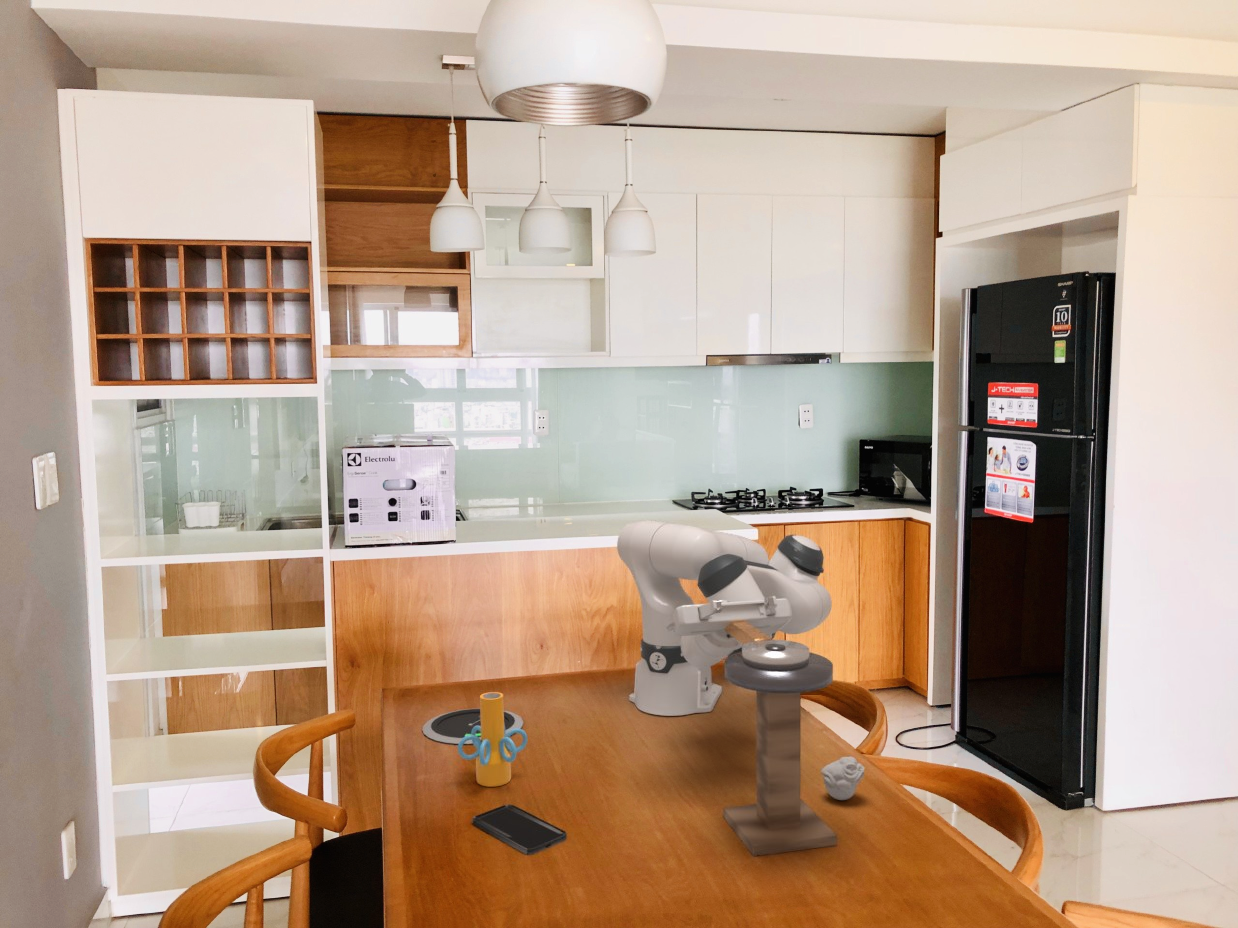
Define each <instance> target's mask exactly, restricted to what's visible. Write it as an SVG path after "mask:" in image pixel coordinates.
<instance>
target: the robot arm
mask: <svg viewBox="0 0 1238 928" xmlns="http://www.w3.org/2000/svg"><path fill="white" fill-rule="evenodd" d="M616 546H617V547H616V548H617V553H618V556H619V558H620V559H621V560H622V562H623V564H624V565H626V567H627V568H628V570H629V571H630V574H631V575H632V577H633V580H634V582H635V585H636V587H637V592H638V595H639V598H640V599H639V600H640V604H641V616H642V617H641V618H642V639H640V649H639V650H640V657H641V659H640V660H638V662H637V663H636V664H635V673H634V674H635V675H634V692H632V693H630V694H629V695H628V697H629V698H628V700H629V701H630V702H632V703H634V704H635V706H636V708H637V709H638V710H640V711H641V712H644V713H646V714H652V715H656V716H666V717H667V716H669V717H670V716H671V717H673V716H685V715H691V714H695V713H700V714H701V713H709V712H712V711H713V710H714V707H715V705H716V703H717V702H718V699H720V698H719V697H720V696H721V694H722V693H723V687H722V686H721V685H718V684H716V683H713V682H712V668H711V667H712V666H714V665H716V664H718V663H719V662H721V661H722V660H724V659H726V658H727V657H728V656H730V655H732V654H735V653H737V652H741V651H742V646H743V645H744V644H742V643H741V642H739V641H738V640H737V639H735V638H734V637H733V636H731V635H730V634H729V633H727V632H726V631H725V628H726V627H727V626H728V625H729V624H730V623H731V622H739V621H746V622H748V623H749V624H751V625H752V626H754V627H755V628H757V629H758V630H760V631H761V632H763V633H764V634H766V635H767V636H769V637H770V638H771V640H774V639H775V636H776V633H777V632H781V633H783V634H786V635H787V634H788V635H799V634H803V633H807V632H809V631H811V630H814V629H816V628H817V627H819V626H821V625H822V623H824V622H825V621H826V619H827V618H829V617H828V616H829V615H830V613H831V610H832V607H833V600H832V597H831V594H830V592H829V590H828V589H827V588H826V587H825V586H823V584H821V583H819V582H818V578H819V576H820V575H821V574H824V571H825V569H824V567H823V566H824V559H825V557H824V556H825V555H824V553H823V550H822V548H821V547H820V546H819V545H818V544H817V543H816V542H815V541H813V540H812V539H811V538H808V537H806V536H803V535H797V534H788V535H785V537H783V538H782V540H781V541H780V542H779V543H778V544H777V549H776V551H775V552H774V553H773V555H772V557H771V558H770V560H769V555H768V553H767V551H766V549H765V548H764V547H763V546H762V545H761V544H760V543H758V542H756V541H754V540H752V539H749V538H747V537H745V536H741V535H738V534H732V533H728V532H727V533H726V532H722V531H718V530H717V531H716V530H711V529H708V528H703V527H700V526H694V525H688V524H681V523H675V522H674V523H672V522H664V521H657V520H652V519H651V520H650V519H647V520H638V521H633V522H632V521H631V522H629V523H627V524H626V525H624V527H623V528H622V529H621V531H620V532H619V535H618V538H617V542H616ZM680 579H682V580H689V581H697V587H698V589H699V591H701V593H702V596H704V598H706V601H707V602H708V603H698V604H695V602H694V601H693V599H692V597H691V596H690V595H689V594H688V593H687V592H686V591H685V590H684V587H683V586H682V583H681V581H680Z"/></svg>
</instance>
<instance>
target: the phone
mask: <svg viewBox="0 0 1238 928" xmlns="http://www.w3.org/2000/svg"><path fill="white" fill-rule="evenodd" d="M471 823H472V825H473V827H475V828H478V829H480V830H481V831H483V832H485V833H487V834H489V835H490V836H492V837H494V838H495V839H497V840H499V841H500V842H503V843H504V844H506V845H508V846H510V847H511V848H513V849H515V850H517V851H518V852H519V853H520V852H521V853H523V855H527V856H531V855H535V854H538V853H540V852H543V851H545V850H547V849H549V848H551V847H554V846H556V845H558V844H561V843H563V842H565V841H566V840H567V831H565V830H563V829H562V828H559V827H558V826H555V825H553V824H551V823H549V822H547V821H545V820H543V819H542V818H539V817H537V816H536V815H534V814H531V813H530V812H528V811H526V810H524V809H523V808H522V809H521V808H520V807H518V806H516V805H514V804H511V803H509V804H503V805H501V806H498V807H495V808H493V809H491V810H487V811H485V812H482V813H480V814H479V813H478V815H474V816H473V817H472V822H471Z"/></svg>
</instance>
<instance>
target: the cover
mask: <svg viewBox="0 0 1238 928" xmlns="http://www.w3.org/2000/svg"><path fill="white" fill-rule="evenodd" d="M725 631H726V632H727V633H729V634H730V635H731V636H733V637H734V638H735V639H737V640H738V641H739V642H741V643H742V644H744V645H743V646H742V662H743V663H744V664H745V665H747V666H749V667H751V668H755V669H759V670H766V671H793V670H798V669H802V668H805V667H807V666H808V665H809V652H810V648H809V647H808V646H807V645H806V644H803V643H801V642H797V641H791V640H785V639H772V640H771V638H770V637H769V636H767V635H766V634H764V633H763V632H761V631H760V630H758V629H757V628H755V627H754V626H752V625H751V624H749V623H748V622H746V621H739V622H731V623H730V624H729V625H728V626H727V627H726V628H725Z"/></svg>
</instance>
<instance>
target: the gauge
mask: <svg viewBox="0 0 1238 928" xmlns="http://www.w3.org/2000/svg"><path fill="white" fill-rule="evenodd" d="M504 725H505V729H506V734H507V732H508V731H510V730H512V729H515V728H519V729H522V730H523V727H524V721H523V717H521V716H520V715H518V714H516V713H514V712H512V711H509V710H505V709H504ZM475 726H481V718H480V707H479V708H478V707H477V708H467V709H465V708H464V709H458V710H454V711H449V712H446V713H441V714H439V715H437V716H434V717H432V718H431V719H429V720H427V721H426V722H425V723H424V724H423V726H422V729H421V732H422V734H423V736H424V737H425V738H427V739H428V740H430V741H433V742H435V743H439V744H443V745H452V746H458V744H459V742H460V741H461V739H462V738H464V737H465V736H468V735H471V732H472V729H473V728H474V727H475ZM516 734H517V733H514V734H512V735H511V736H510V737H509V738H511V737H513V736H514V735H516ZM476 736H477V737H479V738H480V739H481V732H480V731H479V730H477V731H476ZM463 746H474V744H473V742H472V740H468V741H466V742H465V743H464V744H463Z"/></svg>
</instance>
